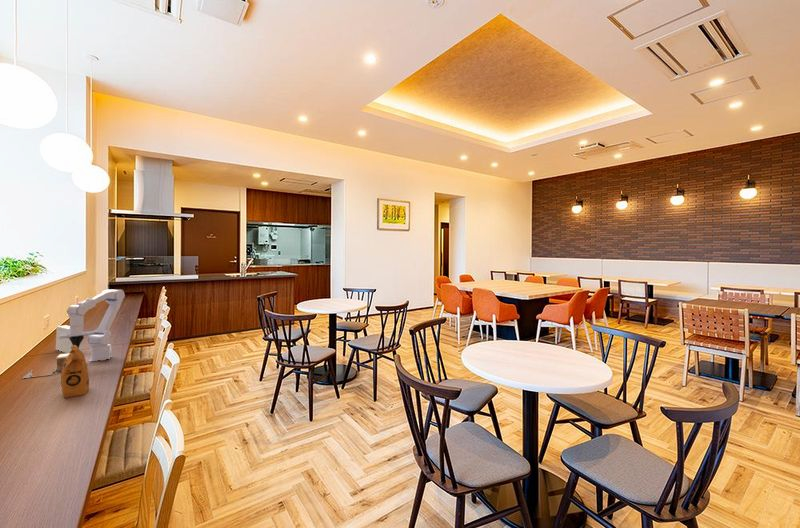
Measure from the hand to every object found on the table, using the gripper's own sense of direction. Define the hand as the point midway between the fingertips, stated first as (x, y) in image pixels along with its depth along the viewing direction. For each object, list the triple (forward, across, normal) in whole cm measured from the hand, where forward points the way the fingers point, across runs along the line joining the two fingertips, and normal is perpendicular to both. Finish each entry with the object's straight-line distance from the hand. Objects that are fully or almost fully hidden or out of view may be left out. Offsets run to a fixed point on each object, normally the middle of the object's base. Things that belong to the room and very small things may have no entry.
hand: (76, 349), depth 195 cm
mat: (+11, +12, -6) cm, 17 cm away
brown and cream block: (+11, +5, -2) cm, 12 cm away
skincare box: (+10, -8, -42) cm, 43 cm away
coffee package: (+12, +12, +43) cm, 46 cm away
